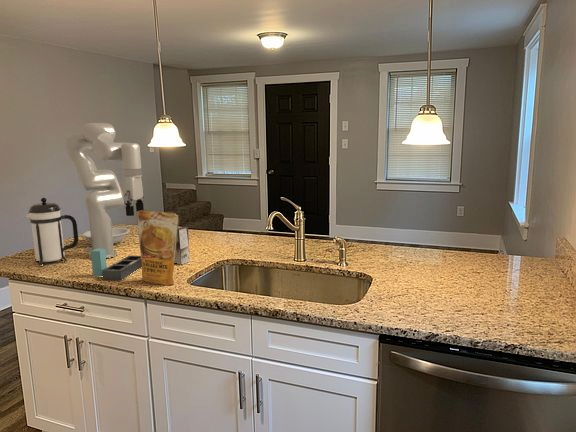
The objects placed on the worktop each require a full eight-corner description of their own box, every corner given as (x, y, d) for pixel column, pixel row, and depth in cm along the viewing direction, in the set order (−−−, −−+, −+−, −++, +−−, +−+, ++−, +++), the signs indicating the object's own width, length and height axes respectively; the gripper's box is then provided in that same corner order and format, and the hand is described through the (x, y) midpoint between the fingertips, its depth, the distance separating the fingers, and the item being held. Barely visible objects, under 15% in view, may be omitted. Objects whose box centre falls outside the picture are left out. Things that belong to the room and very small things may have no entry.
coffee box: (191, 261, 203) (189, 227, 200) (181, 265, 197) (179, 229, 194) (175, 259, 207) (173, 225, 204) (165, 262, 202) (163, 228, 199)
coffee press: (55, 267, 197) (48, 200, 192) (24, 266, 200) (16, 199, 195) (81, 257, 214) (74, 194, 208) (52, 255, 217) (45, 194, 211)
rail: (102, 279, 179) (101, 269, 178) (129, 264, 200) (128, 255, 200) (121, 280, 178) (120, 270, 177) (146, 264, 199) (145, 255, 199)
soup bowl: (72, 248, 231) (70, 235, 230) (103, 237, 254) (102, 226, 252) (111, 251, 224) (110, 238, 223) (140, 240, 247) (139, 228, 246)
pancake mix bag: (147, 275, 183) (142, 208, 178) (184, 282, 175) (180, 211, 170) (135, 280, 177) (129, 211, 172) (172, 287, 169) (168, 214, 164)
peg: (93, 277, 183) (90, 251, 181) (98, 274, 187) (96, 248, 185) (102, 277, 182) (99, 251, 180) (107, 274, 186) (105, 248, 184)
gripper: (132, 171, 195) (135, 210, 198) (113, 175, 178) (117, 217, 181) (149, 171, 194) (151, 210, 197) (131, 175, 177) (135, 217, 180)
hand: (135, 213), depth 189 cm, fingers open, 9 cm apart
